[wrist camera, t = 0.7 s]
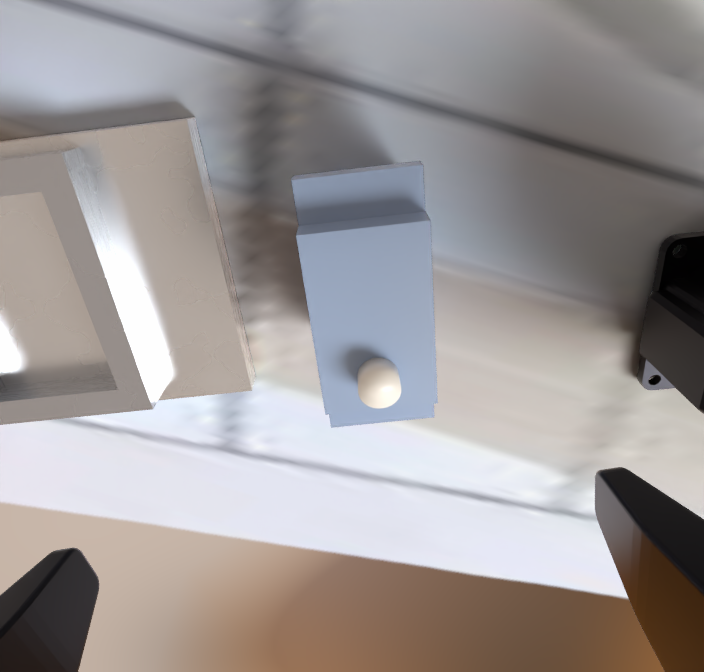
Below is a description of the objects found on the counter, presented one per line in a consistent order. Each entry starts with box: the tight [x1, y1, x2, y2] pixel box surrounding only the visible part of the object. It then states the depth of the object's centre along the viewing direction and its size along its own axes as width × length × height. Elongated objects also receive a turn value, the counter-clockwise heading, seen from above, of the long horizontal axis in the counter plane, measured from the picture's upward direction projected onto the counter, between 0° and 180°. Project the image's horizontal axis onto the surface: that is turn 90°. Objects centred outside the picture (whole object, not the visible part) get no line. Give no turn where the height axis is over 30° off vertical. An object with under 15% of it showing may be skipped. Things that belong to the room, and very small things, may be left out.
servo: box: [291, 161, 438, 427], centre depth 16 cm, size 8×3×6 cm, turn 6°
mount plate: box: [0, 117, 256, 425], centre depth 18 cm, size 12×10×2 cm
